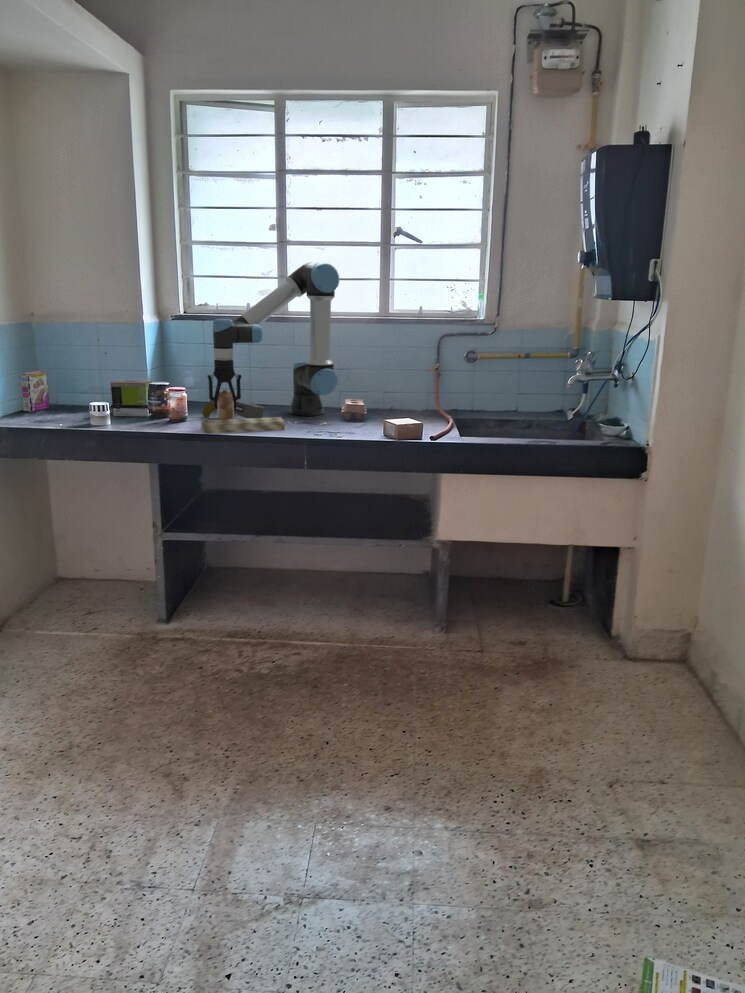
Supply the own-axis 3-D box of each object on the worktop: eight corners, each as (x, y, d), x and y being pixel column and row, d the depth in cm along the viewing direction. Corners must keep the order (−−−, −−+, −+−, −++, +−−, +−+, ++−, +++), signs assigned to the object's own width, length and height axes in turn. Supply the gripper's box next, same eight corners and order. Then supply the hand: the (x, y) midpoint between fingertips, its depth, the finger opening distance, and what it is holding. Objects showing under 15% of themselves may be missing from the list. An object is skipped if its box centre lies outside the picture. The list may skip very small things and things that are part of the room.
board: (280, 425, 302) (280, 417, 301) (284, 429, 293) (284, 421, 292) (201, 428, 292) (200, 420, 291) (203, 433, 284) (203, 424, 283)
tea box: (154, 413, 321) (152, 379, 317) (147, 417, 311) (145, 382, 307) (120, 412, 321) (118, 378, 317) (112, 416, 312) (109, 381, 307)
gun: (251, 440, 313) (263, 408, 308) (199, 416, 313) (211, 384, 309) (254, 438, 316) (266, 407, 311) (202, 414, 316) (213, 383, 312)
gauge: (231, 418, 300) (230, 389, 297) (235, 424, 289) (234, 394, 285) (218, 418, 299) (217, 389, 295) (222, 424, 287) (221, 394, 284)
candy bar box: (32, 412, 315) (27, 374, 310) (23, 411, 316) (18, 373, 311) (50, 408, 325) (46, 371, 320) (41, 407, 327) (37, 370, 322)
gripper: (245, 357, 296) (246, 414, 303) (199, 358, 290) (202, 415, 297) (248, 359, 289) (249, 417, 296) (201, 360, 284) (204, 419, 291)
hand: (225, 416), depth 297 cm, fingers closed on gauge, 5 cm apart
